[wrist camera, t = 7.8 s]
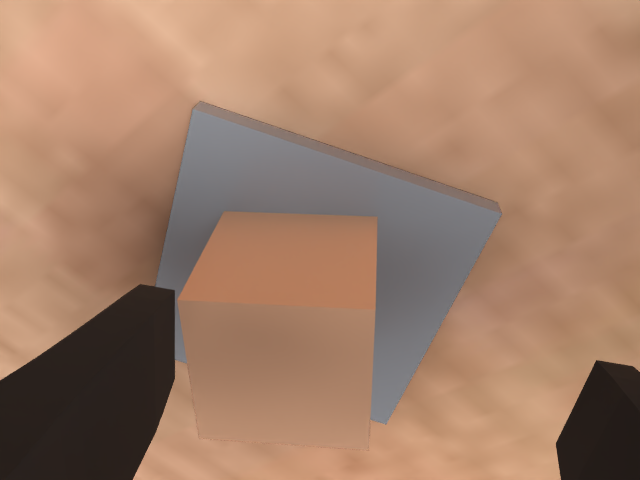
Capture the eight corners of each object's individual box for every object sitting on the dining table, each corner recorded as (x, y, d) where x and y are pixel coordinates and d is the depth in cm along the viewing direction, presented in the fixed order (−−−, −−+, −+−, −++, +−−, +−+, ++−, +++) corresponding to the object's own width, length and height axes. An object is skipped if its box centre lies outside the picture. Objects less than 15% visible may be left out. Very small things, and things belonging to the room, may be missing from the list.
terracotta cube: (377, 216, 19) (375, 309, 14) (372, 339, 21) (368, 450, 17) (223, 211, 19) (176, 300, 15) (236, 332, 22) (199, 438, 17)
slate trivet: (497, 202, 19) (501, 214, 18) (386, 409, 24) (386, 424, 23) (200, 101, 18) (193, 108, 17) (149, 336, 23) (141, 349, 22)
